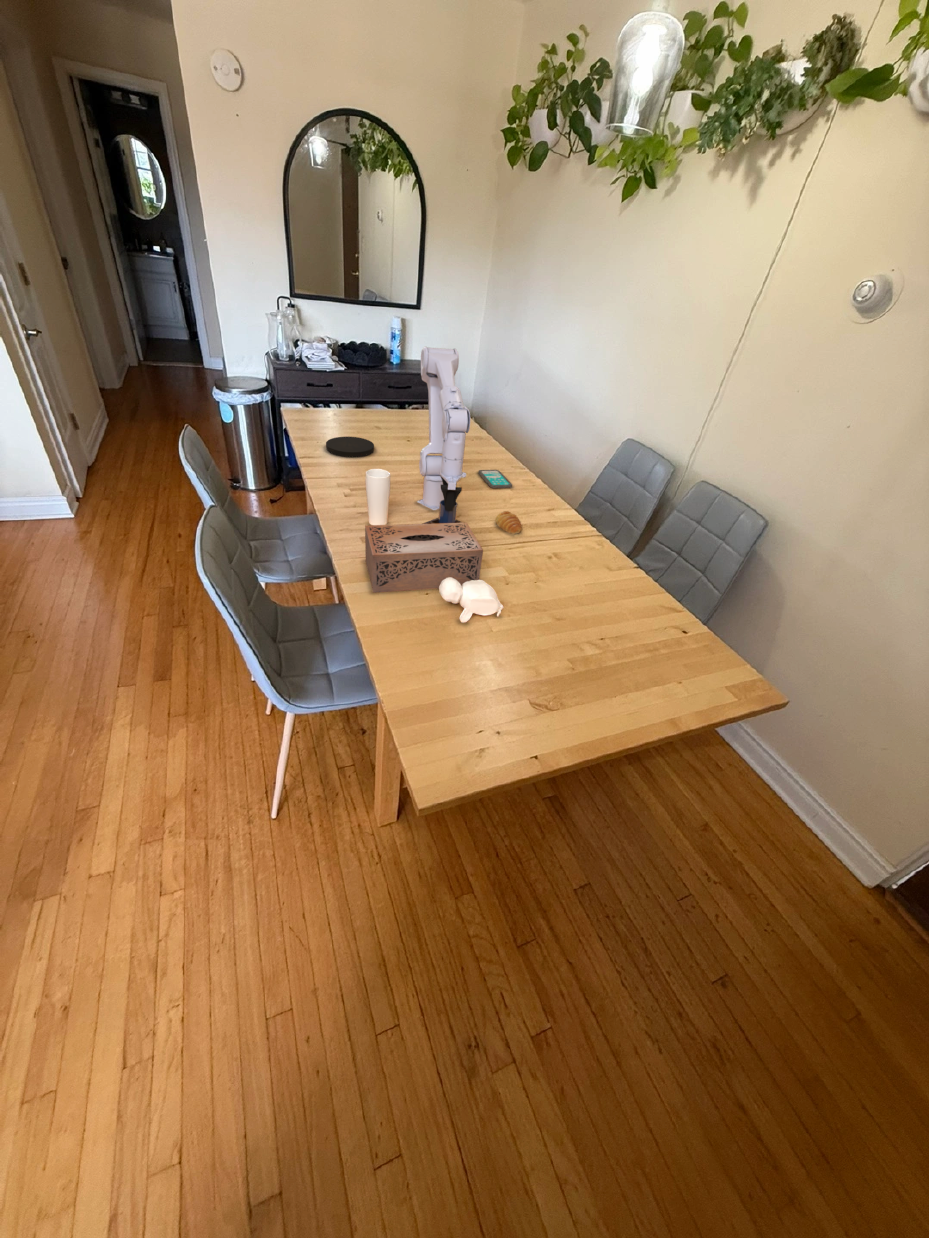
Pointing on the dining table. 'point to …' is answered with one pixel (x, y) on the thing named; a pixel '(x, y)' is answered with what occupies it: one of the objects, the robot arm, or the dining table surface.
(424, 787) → the dining table surface
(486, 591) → the white turtle figurine
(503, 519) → the pastry
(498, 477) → the smartphone
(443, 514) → the cup
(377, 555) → the tissue box cover
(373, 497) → the drinking glass
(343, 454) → the wireless charger
